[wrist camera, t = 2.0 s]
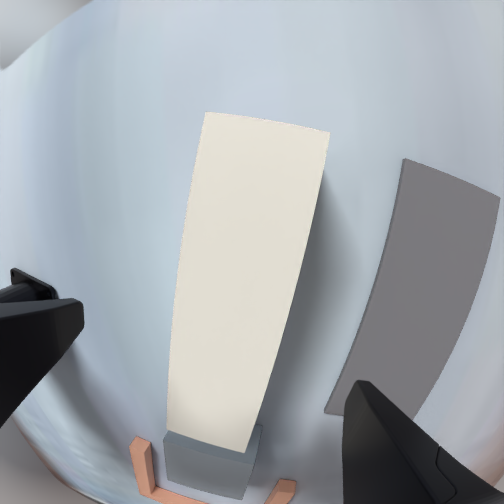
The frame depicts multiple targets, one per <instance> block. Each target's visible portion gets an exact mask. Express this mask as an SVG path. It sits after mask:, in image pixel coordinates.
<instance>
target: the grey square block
mask: <svg viewBox="0 0 504 504" xmlns="http://www.w3.org/2000/svg"><path fill="white" fill-rule="evenodd" d="M261 431H262V426H261V425H256V424H255V425H254V427H253V430H252V433H251V436H250V439H249V442H248V445H247V447H246V450H245V453H242V452H238V451H234V450H230V449H226V448H222V447H219V446H215V445H212V444H209V443H205V442H202V441H199V440H196V439H193V438H190V437H187V436H184V435H181V434H178V433H175V432H173V431H170V430H169V431H168V432H167V434H166V436H165V438H164V439H163V443H164V454H165V463H166V471H167V479H168V480H169V481H172V482H175V483H178V484H181V485H184V486H188V487H191V488H194V489H197V490H201V491H205V492H208V493H212V494H216V495H220V496H224V497H229V498H233V499H238V500H242V499H243V496H244V493H245V491H246V488H247V485H248V482H249V479H250V476H251V473H252V470H253V467H254V464H255V459H256V455H257V450H258V445H259V441H260V436H261Z"/></svg>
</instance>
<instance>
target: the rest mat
mask: <svg viewBox="0 0 504 504" xmlns="http://www.w3.org/2000/svg"><path fill="white" fill-rule="evenodd" d="M499 203H500V197H498V196H496V195H494V194H492V193H490V192H488V191H486V190H483V189H481V188H479V187H477V186H475V185H473V184H470V183H468V182H466V181H463V180H461V179H459V178H456V177H454V176H451V175H449V174H447V173H444V172H441V171H439V170H436V169H434V168H431V167H428V166H426V165H423V164H420V163H417V162H414V161H412V160H409V159H406V158H405V159H403V162H402V168H401V174H400V179H399V185H398V190H397V195H396V200H395V205H394V209H393V214H392V218H391V222H390V226H389V231H388V235H387V239H386V242H385V246H384V250H383V254H382V257H381V261H380V264H379V268H378V271H377V275H376V278H375V281H374V284H373V288H372V291H371V294H370V297H369V300H368V303H367V306H366V309H365V312H364V315H363V317H362V320H361V323H360V326H359V329H358V331H357V334H356V337H355V339H354V342H353V344H352V347H351V349H350V352H349V354H348V357H347V359H346V362H345V364H344V367H343V369H342V371H341V374H340V376H339V378H338V380H337V383H336V385H335V387H334V389H333V392H332V394H331V396H330V398H329V400H328V402H327V404H326V406H325V408H324V413H328V414H335V415H343V416H344V405H345V401H346V399H347V397H348V395H349V393H350V391H351V389H352V386H353V384H354V383H355V381H356V380H366V381H370V382H371V383H372V384H373V385H374V386H375V387H376V388H378V389H379V390H380V391H381V392H382V393H383V394H384V395H385V396H386V397H387V398H388V399H389V400H391V401H392V402H393V403H394V404H395V405H396V406H397V407H398V408H399V409H400V410H401V411H402V412H404V413H405V414H406V415H407V416H408V417H409V418H410V419H411V420H413V419H414V417H415V416H416V414H417V413H418V411H419V409H420V408H421V406H422V405H423V403H424V402H425V400H426V398H427V397H428V395H429V393H430V392H431V390H432V388H433V387H434V385H435V383H436V381H437V379H438V378H439V376H440V374H441V372H442V370H443V368H444V367H445V365H446V363H447V361H448V359H449V357H450V355H451V353H452V351H453V349H454V346H455V344H456V342H457V340H458V338H459V336H460V333H461V331H462V329H463V326H464V324H465V322H466V319H467V317H468V314H469V312H470V309H471V306H472V304H473V301H474V298H475V296H476V293H477V290H478V287H479V284H480V281H481V278H482V275H483V271H484V268H485V265H486V261H487V258H488V254H489V250H490V246H491V242H492V238H493V234H494V229H495V224H496V219H497V214H498V209H499Z"/></svg>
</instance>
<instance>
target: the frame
mask: <svg viewBox="0 0 504 504" xmlns="http://www.w3.org/2000/svg"><path fill="white" fill-rule="evenodd" d="M129 448H130V453H131V458H132V463H133V468H134V472H135V476H136V480H137V484H138V488H139V492H140V494H141V495H143V496H146V497H148V498H151V499H153V500H155V501H158V502H161V503H163V504H207V503H204V502H200V501H197V500H194V499H191V498H188V497H185V496H182V495H179V494H176V493H173V492H170V491H168V490H165V489H162V488H160V487H157V486H155V479H154V471H153V463H152V453H151V442H148V441H146V440H144V439H141V438H139V437H137V436H136V437H135V439H134V440H133V441H132V443H131V444H130V446H129ZM295 488H296V481H292V480H284V479H279V481H278V483H277V484H276V486H275V488H274V489H273V491H272V492H271V494H270V496H269V497H268V499H267V500H266V502H265V503H264V504H287V503H288V502H289V501H290V499H291V498H292V497H293V496H294V494H295Z"/></svg>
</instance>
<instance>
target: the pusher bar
mask: <svg viewBox="0 0 504 504" xmlns="http://www.w3.org/2000/svg"><path fill="white" fill-rule="evenodd" d="M329 138H330V132H326V131H321V130H317V129H313V128H308V127H303V126H299V125H294V124H289V123H283V122H278V121H272V120H266V119H260V118H253V117H247V116H239V115H232V114H223V113H214V112H206V114H205V118H204V122H203V127H202V131H201V136H200V141H199V146H198V150H197V155H196V160H195V165H194V171H193V176H192V181H191V187H190V193H189V198H188V204H187V210H186V217H185V223H184V229H183V236H182V243H181V250H180V258H179V265H178V273H177V282H176V291H175V300H174V310H173V320H172V331H171V344H170V358H169V375H168V396H167V430H170V431H173V432H175V433H178V434H181V435H184V436H187V437H190V438H193V439H196V440H199V441H202V442H205V443H209V444H212V445H215V446H219V447H222V448H226V449H230V450H234V451H238V452H242V453H245V450H246V447H247V445H248V442H249V439H250V436H251V433H252V430H253V427H254V425H255V422H256V419H257V416H258V413H259V410H260V407H261V404H262V401H263V397H264V394H265V391H266V388H267V385H268V382H269V379H270V375H271V372H272V369H273V366H274V362H275V359H276V356H277V352H278V349H279V346H280V342H281V339H282V335H283V332H284V328H285V325H286V321H287V318H288V314H289V311H290V307H291V303H292V300H293V296H294V292H295V288H296V284H297V281H298V277H299V273H300V269H301V265H302V261H303V257H304V253H305V249H306V245H307V241H308V237H309V232H310V228H311V224H312V219H313V215H314V211H315V206H316V202H317V197H318V193H319V188H320V183H321V178H322V174H323V169H324V164H325V159H326V154H327V149H328V143H329Z"/></svg>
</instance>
